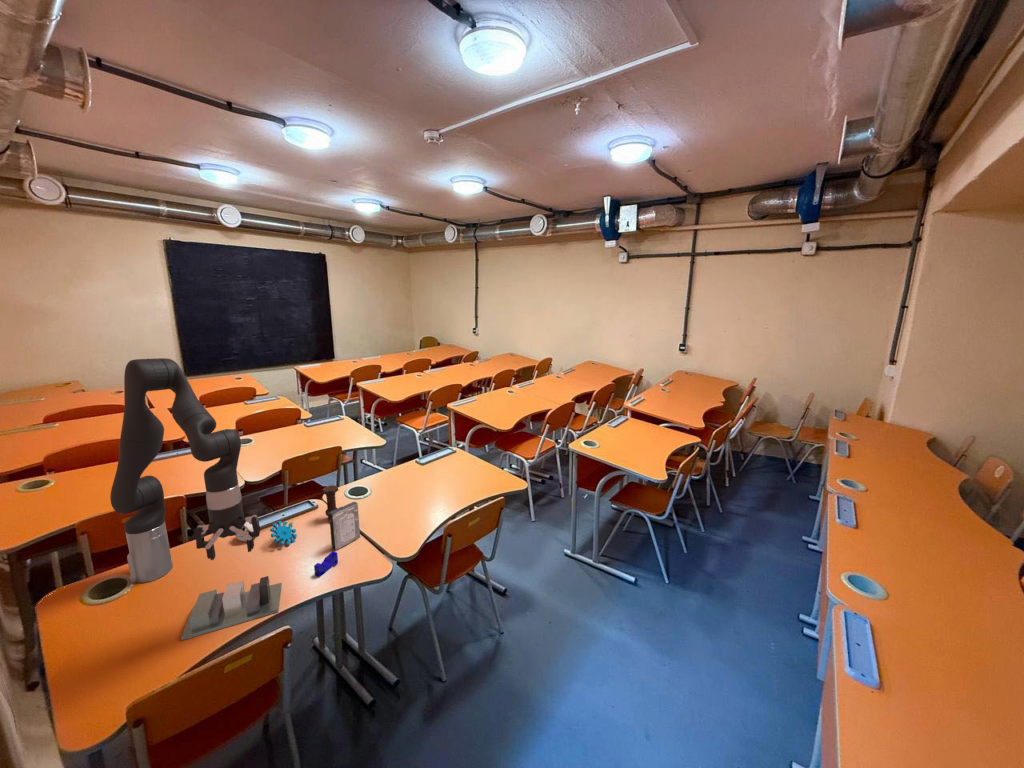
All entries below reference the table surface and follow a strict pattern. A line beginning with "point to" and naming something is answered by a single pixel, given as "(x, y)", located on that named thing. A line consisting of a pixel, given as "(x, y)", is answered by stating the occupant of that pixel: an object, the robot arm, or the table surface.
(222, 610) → the vise
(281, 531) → the gear
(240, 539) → the seamed sphere
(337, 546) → the disk drive
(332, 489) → the bolt
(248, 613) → the free jaw
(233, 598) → the steel block
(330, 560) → the cable holder
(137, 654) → the table surface
